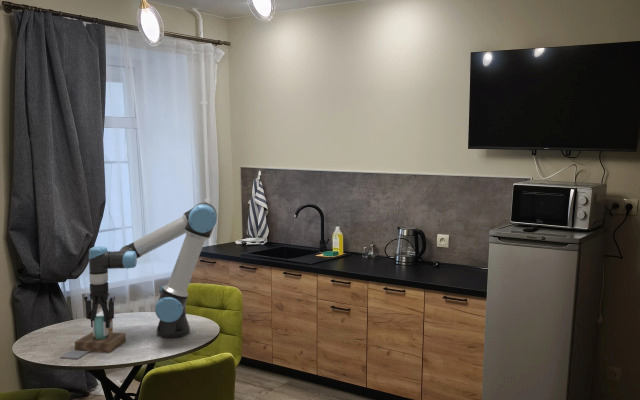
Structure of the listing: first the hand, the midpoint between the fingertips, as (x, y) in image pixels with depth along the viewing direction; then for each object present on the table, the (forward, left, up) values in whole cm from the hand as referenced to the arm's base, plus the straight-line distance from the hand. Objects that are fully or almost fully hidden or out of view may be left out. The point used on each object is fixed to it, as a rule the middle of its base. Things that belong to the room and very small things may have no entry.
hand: (100, 334), depth 245 cm
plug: (0, 0, -5) cm, 5 cm away
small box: (+7, -14, -5) cm, 16 cm away
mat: (+5, +12, -5) cm, 14 cm away
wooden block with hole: (0, 0, -5) cm, 5 cm away
